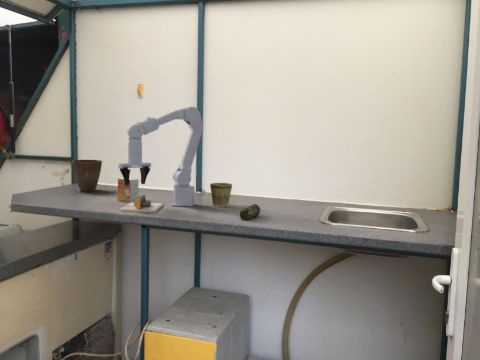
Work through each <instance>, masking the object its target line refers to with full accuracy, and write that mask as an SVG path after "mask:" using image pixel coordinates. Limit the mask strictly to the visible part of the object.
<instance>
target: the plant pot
mask: <svg viewBox="0 0 480 360" xmlns="http://www.w3.org/2000/svg"><path fill="white" fill-rule="evenodd" d="M71 163H72V171H73V175H74V177H75V181H76V183H77V186H78V188H79V191H80V192H83V191H84V192H87V193H89V191H90V192H95V191H96V189H97V186H98V183H99V180H100V177H101V172H102V165H103V164H102V163H103V160H101V159H75V160H71Z"/></svg>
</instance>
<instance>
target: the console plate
mask: <svg viewBox="0 0 480 360" xmlns="http://www.w3.org/2000/svg"><path fill="white" fill-rule="evenodd" d="M162 206H163V202H151V206H150V207H141V208H136V207H135V206H134V202H128V203H127V204H126V205H125V206H122V207H121V208H120V212H129V213H130V212H132V213H157V211H158V210H159V209H160V208H162Z"/></svg>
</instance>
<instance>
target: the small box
mask: <svg viewBox="0 0 480 360" xmlns="http://www.w3.org/2000/svg"><path fill="white" fill-rule="evenodd" d="M139 181H140V179H139V178H130V177H129V185H125V181H124V178H123V177H120V178H117V201H121V202H126V203H131V202H134V201H135V200H136V198H137V197H139Z"/></svg>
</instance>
